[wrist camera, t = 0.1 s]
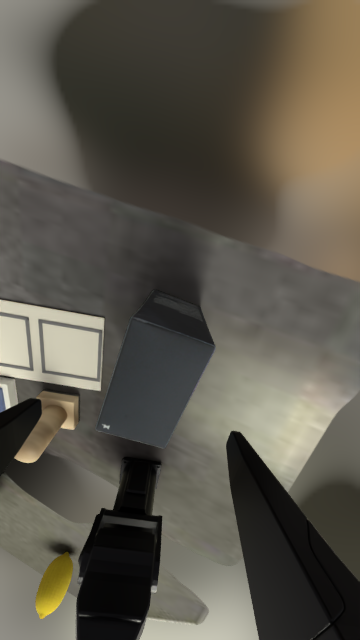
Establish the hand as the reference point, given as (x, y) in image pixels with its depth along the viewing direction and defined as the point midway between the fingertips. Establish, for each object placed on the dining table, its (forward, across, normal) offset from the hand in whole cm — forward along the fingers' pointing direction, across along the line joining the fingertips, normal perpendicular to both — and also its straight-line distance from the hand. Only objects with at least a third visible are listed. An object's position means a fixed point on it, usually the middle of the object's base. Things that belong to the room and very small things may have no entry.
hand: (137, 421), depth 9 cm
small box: (+15, 0, +2) cm, 15 cm away
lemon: (+15, +12, +58) cm, 61 cm away
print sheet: (+15, +16, +7) cm, 23 cm away
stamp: (+15, +13, +16) cm, 25 cm away
